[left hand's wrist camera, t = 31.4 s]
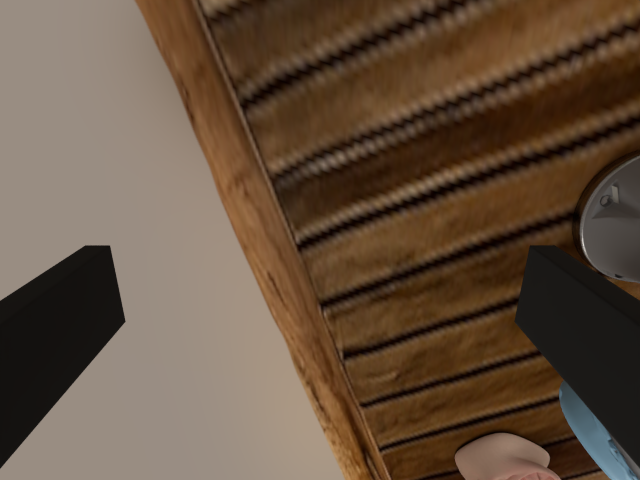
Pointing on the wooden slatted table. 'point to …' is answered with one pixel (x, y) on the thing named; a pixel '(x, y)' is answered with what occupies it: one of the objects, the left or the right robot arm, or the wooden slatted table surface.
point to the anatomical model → (504, 459)
